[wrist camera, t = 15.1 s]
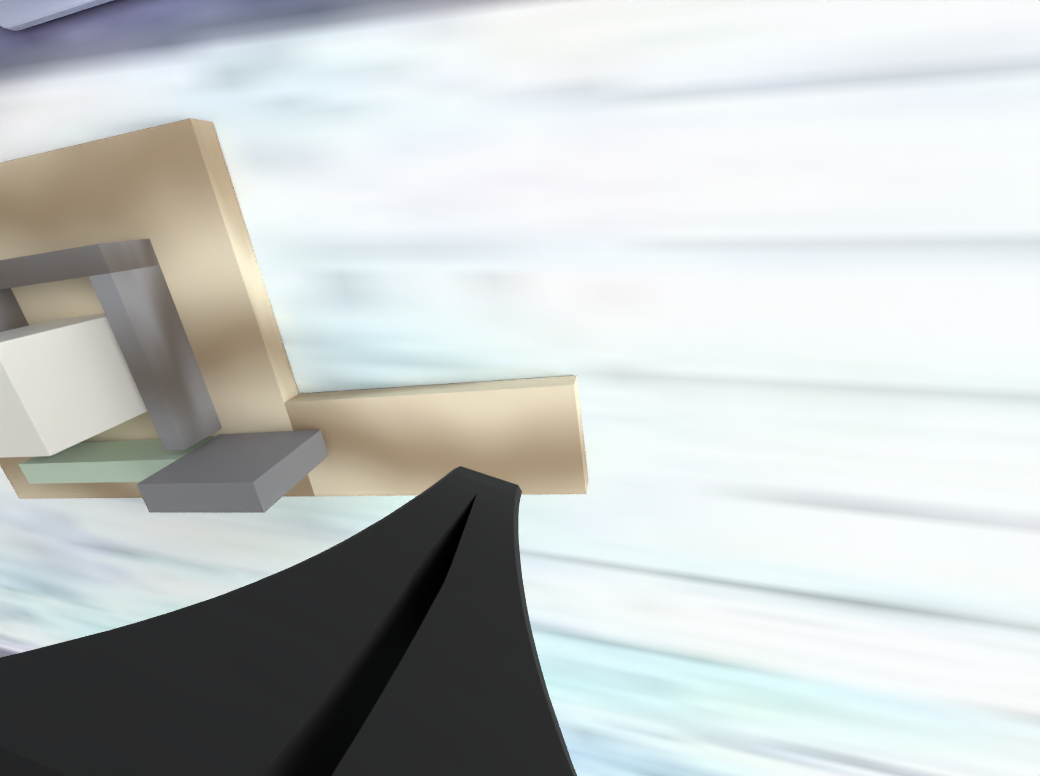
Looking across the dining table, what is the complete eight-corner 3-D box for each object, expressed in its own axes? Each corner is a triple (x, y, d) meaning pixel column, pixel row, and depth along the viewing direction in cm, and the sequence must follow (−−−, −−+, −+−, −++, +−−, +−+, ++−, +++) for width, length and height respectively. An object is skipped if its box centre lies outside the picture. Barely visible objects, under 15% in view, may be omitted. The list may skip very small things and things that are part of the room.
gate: (64, 441, 24) (-39, 486, 20) (320, 429, 20) (252, 482, 17) (75, 463, 24) (-23, 512, 20) (328, 455, 21) (264, 512, 17)
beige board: (-120, 197, 22) (-226, 199, 19) (541, 47, 15) (521, 14, 12) (39, 488, 27) (-27, 521, 24) (588, 479, 20) (581, 526, 17)
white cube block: (61, 317, 21) (-94, 353, 17) (135, 309, 20) (-9, 344, 16) (101, 404, 23) (-32, 458, 18) (172, 399, 22) (49, 456, 17)
